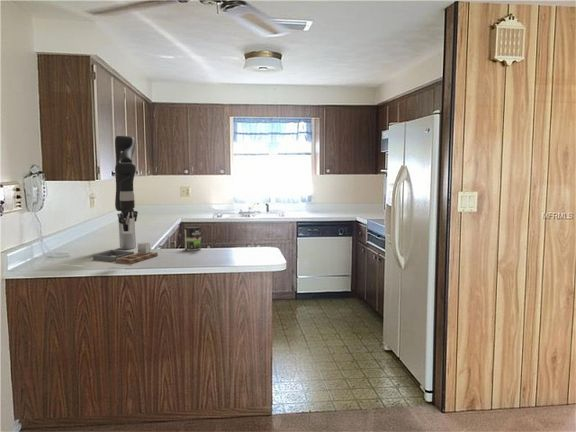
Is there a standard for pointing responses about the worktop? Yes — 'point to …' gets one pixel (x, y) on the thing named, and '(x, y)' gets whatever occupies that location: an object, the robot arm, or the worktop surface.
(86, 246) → the worktop surface
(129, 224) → the block
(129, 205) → the robot arm
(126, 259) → the pallet
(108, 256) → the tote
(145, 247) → the block
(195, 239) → the coffee can
